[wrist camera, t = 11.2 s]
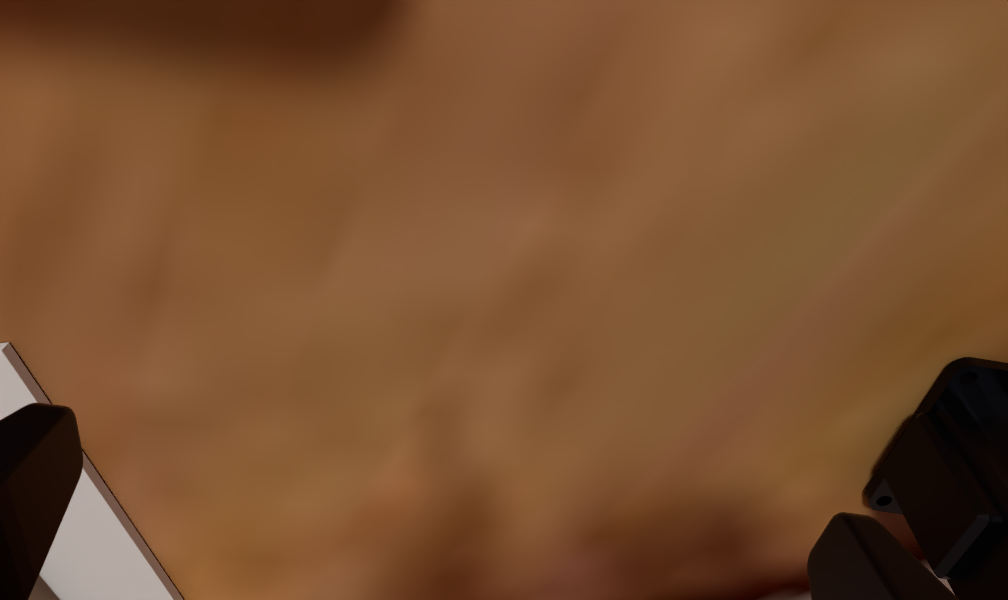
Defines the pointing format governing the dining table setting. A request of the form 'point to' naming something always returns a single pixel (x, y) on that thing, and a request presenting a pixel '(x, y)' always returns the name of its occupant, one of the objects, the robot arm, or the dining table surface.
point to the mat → (88, 523)
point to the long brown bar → (42, 591)
